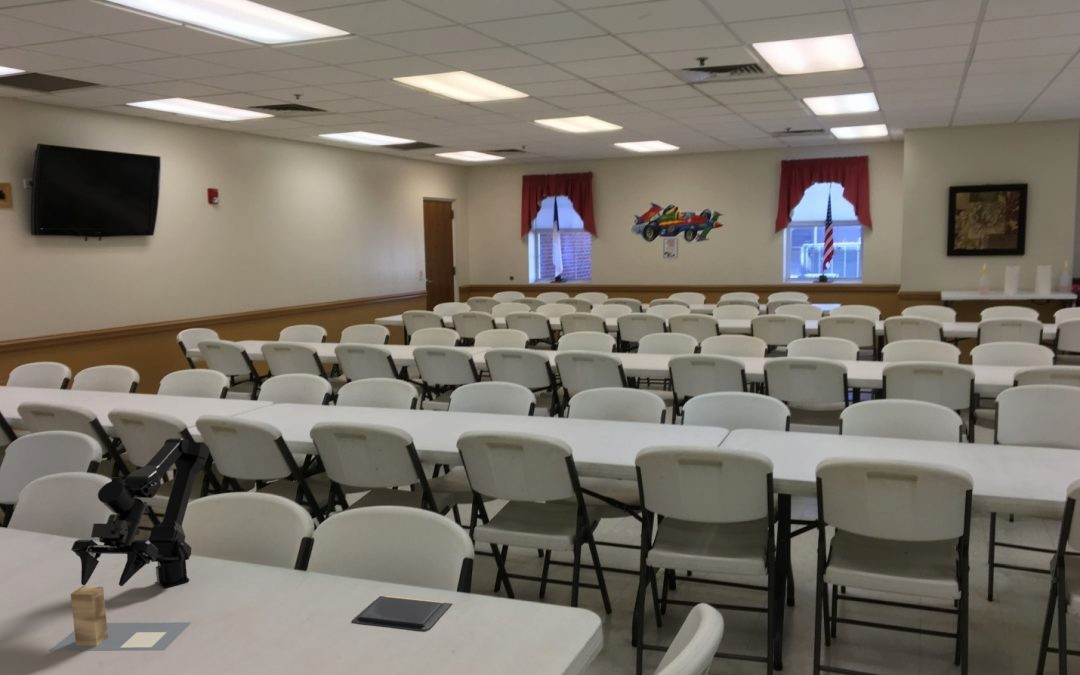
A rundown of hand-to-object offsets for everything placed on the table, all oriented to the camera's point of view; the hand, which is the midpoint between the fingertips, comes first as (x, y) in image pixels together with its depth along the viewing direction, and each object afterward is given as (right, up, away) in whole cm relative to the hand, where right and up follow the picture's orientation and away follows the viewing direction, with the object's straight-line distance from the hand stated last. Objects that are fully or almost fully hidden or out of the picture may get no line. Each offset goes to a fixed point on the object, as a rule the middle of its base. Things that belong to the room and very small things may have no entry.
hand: (101, 585), depth 191 cm
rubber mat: (+6, -12, -1) cm, 13 cm away
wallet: (+68, -10, +7) cm, 69 cm away
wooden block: (0, -12, -4) cm, 12 cm away
